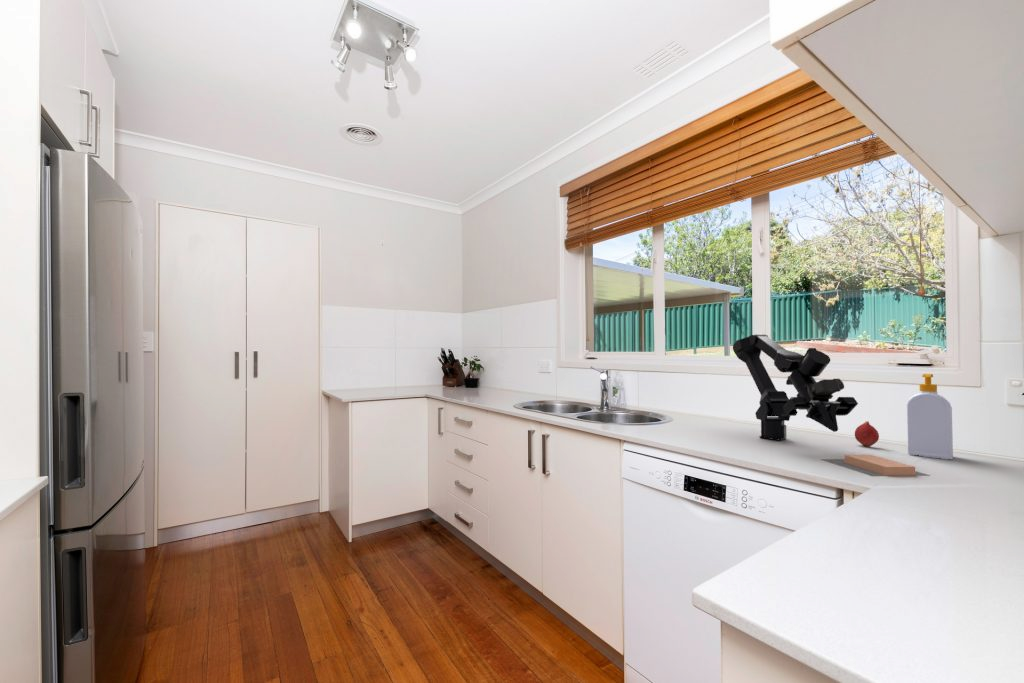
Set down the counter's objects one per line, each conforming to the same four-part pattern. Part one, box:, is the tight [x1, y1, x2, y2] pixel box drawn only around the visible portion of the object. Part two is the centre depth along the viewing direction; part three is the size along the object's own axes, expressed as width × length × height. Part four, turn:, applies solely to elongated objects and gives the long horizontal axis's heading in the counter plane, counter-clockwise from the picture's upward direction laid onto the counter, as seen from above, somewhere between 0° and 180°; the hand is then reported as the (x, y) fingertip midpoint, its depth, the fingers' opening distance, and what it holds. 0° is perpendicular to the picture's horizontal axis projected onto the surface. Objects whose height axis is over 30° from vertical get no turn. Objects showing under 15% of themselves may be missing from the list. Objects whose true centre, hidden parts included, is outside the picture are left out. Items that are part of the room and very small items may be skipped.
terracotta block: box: [844, 454, 916, 477], centre depth 107 cm, size 2×7×12 cm
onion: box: [854, 420, 880, 448], centre depth 134 cm, size 6×6×8 cm
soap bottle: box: [906, 373, 954, 460], centre depth 123 cm, size 9×7×23 cm
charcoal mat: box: [820, 458, 931, 477], centre depth 109 cm, size 16×14×1 cm
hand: (836, 430), depth 121 cm, fingers closed
